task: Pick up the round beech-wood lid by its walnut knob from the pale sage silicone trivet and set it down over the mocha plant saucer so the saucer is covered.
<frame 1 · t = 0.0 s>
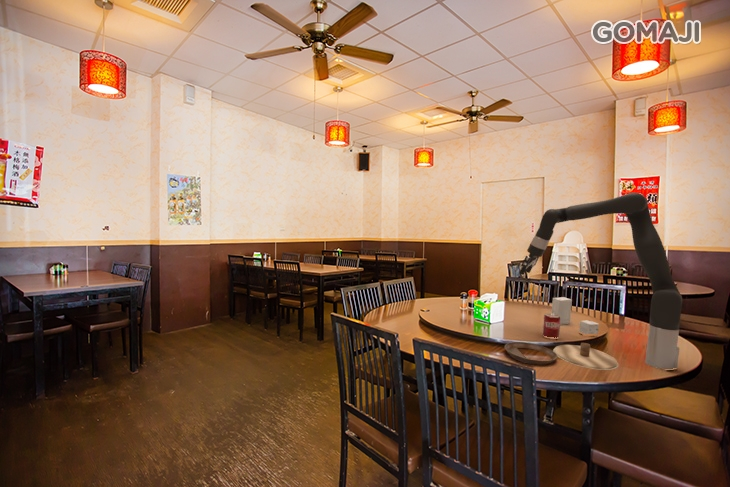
hand: (524, 273, 178), 31 cm above the table, tool tilted 20°, fingers open, 8 cm apart
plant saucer: (529, 357, 147), on the table
skincare box: (588, 336, 175), on the table
skincare box 2: (560, 323, 195), on the table
soda can: (550, 338, 170), on the table
trivet: (584, 358, 147), on the table
lid: (584, 356, 147), point 1 cm above the table, touching trivet
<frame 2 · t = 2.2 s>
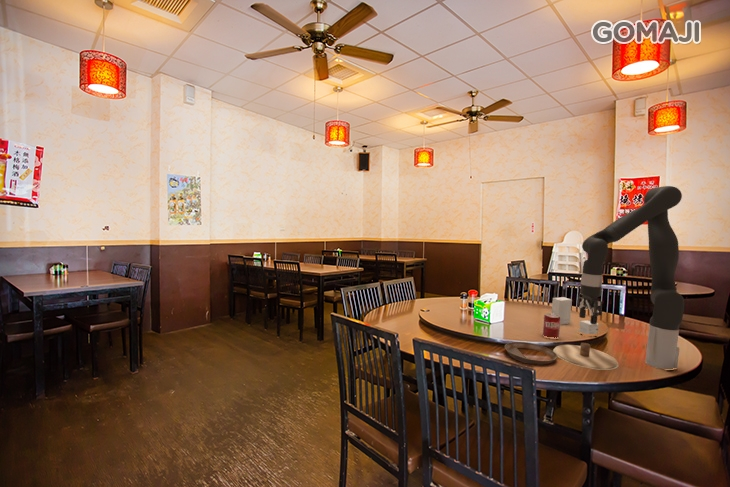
hand: (587, 320, 146), 17 cm above the table, tool pointing down, fingers open, 8 cm apart
nothing on the table moved.
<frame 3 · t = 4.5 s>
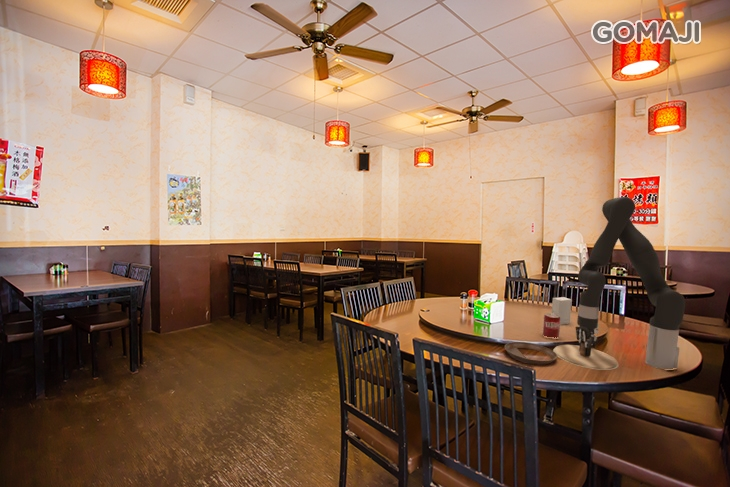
hand: (584, 353, 147), 2 cm above the table, tool pointing down, fingers closed on lid, 3 cm apart
lid: (584, 356, 147), point 1 cm above the table, touching gripper, trivet
everything else where it was.
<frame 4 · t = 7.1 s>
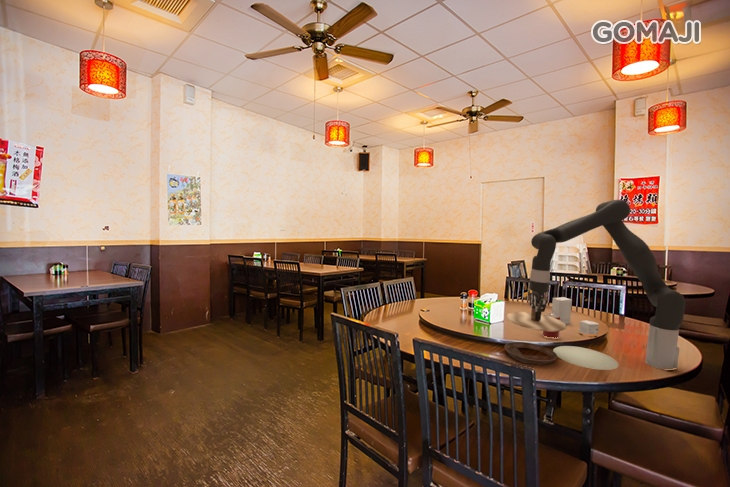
hand: (535, 318, 146), 17 cm above the table, tool pointing down, fingers closed on lid, 3 cm apart
lid: (535, 321, 146), point 16 cm above the table, touching gripper
everything else where it was.
when the fingers open (5 cm above the table, at t = 10.0 s): lid stays where it is, resting on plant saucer.
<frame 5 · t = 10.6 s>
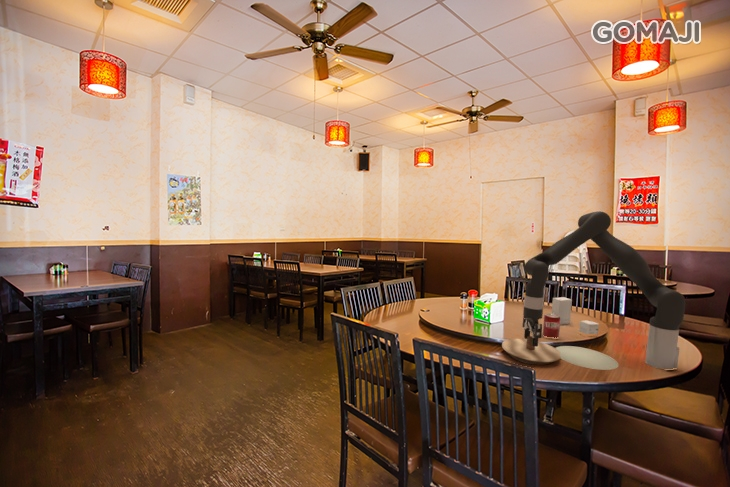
hand: (530, 342, 146), 7 cm above the table, tool pointing down, fingers open, 8 cm apart
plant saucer: (529, 357, 147), on the table, touching lid
lid: (530, 350, 147), point 3 cm above the table, touching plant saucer
everything else where it was.
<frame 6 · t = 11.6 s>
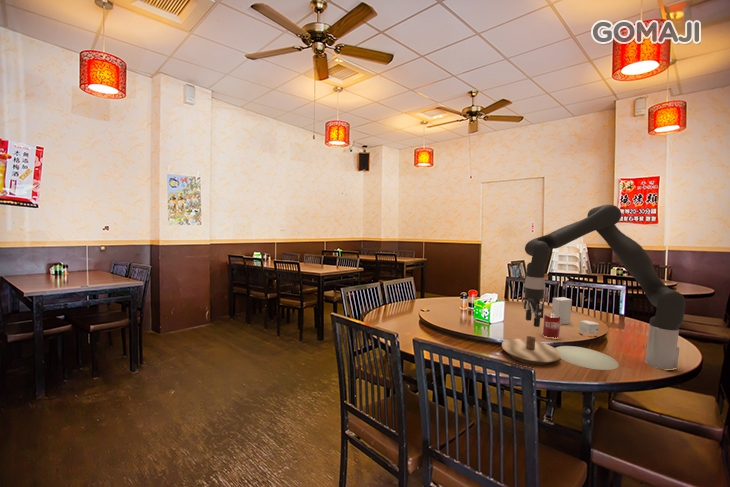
hand: (532, 323, 146), 15 cm above the table, tool pointing down, fingers open, 8 cm apart
nothing on the table moved.
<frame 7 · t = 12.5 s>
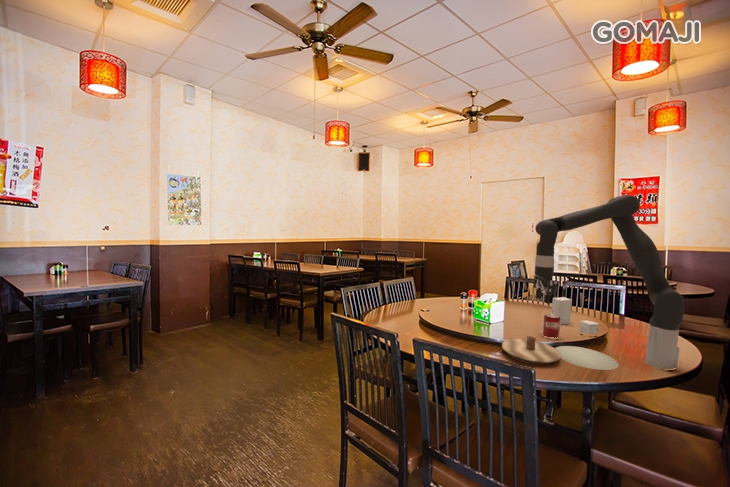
hand: (542, 300, 151), 24 cm above the table, tool pointing down, fingers open, 8 cm apart
nothing on the table moved.
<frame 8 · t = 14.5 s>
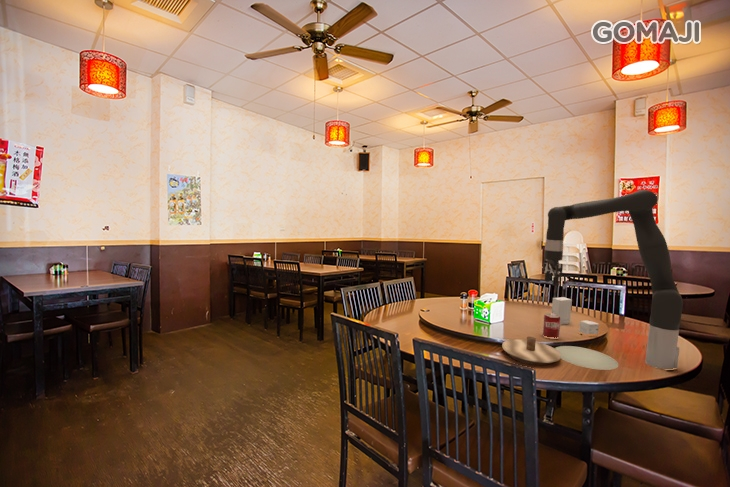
hand: (551, 283, 159), 30 cm above the table, tool pointing down, fingers open, 8 cm apart
nothing on the table moved.
at the end: lid 0.2 cm from the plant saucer (horizontally); lid point 2.7 cm above the table; the gripper is holding nothing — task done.
